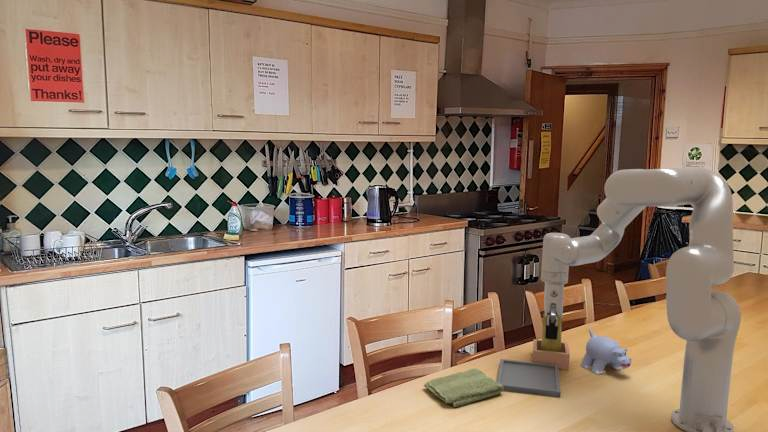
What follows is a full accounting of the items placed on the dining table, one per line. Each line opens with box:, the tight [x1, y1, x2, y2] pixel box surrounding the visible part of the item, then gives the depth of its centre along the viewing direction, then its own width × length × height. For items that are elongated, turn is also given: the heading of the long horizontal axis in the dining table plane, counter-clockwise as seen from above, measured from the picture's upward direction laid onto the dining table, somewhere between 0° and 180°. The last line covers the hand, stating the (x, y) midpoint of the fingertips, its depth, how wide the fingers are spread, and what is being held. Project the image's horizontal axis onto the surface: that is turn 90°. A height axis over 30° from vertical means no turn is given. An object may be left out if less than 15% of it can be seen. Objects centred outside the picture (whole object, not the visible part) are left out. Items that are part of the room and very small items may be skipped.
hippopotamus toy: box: [580, 329, 632, 375], centre depth 167 cm, size 11×15×10 cm
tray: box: [496, 358, 562, 398], centre depth 159 cm, size 18×16×2 cm
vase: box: [541, 312, 563, 352], centre depth 171 cm, size 6×6×14 cm
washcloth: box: [423, 367, 504, 408], centre depth 151 cm, size 13×18×3 cm
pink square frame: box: [532, 338, 570, 371], centre depth 172 cm, size 10×10×4 cm
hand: (550, 333), depth 171 cm, fingers open, 9 cm apart
